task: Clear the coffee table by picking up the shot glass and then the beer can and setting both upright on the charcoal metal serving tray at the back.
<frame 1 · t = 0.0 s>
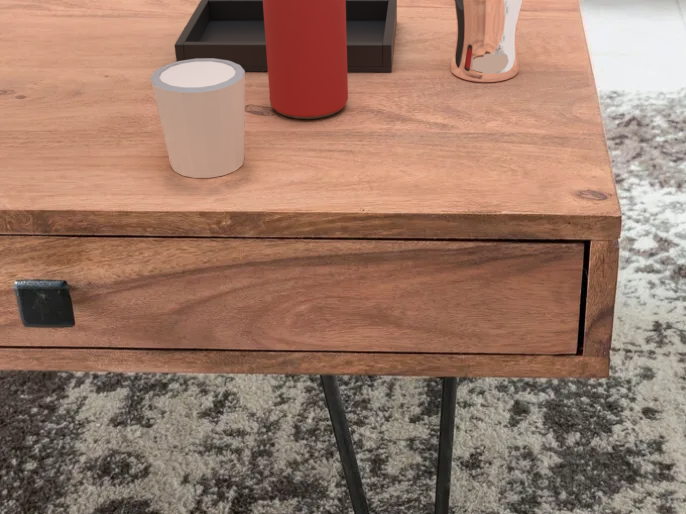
beer can: (309, 108, 89), on the table
tray: (292, 46, 101), on the table
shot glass: (207, 164, 81), on the table
beer glass: (484, 72, 95), on the table
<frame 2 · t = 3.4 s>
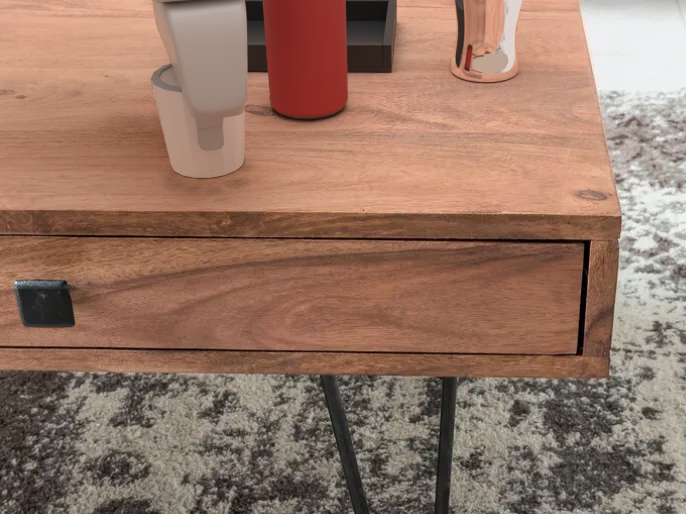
hand: (204, 129, 79), 3 cm above the table, tool pointing down, fingers closed on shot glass, 5 cm apart
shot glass: (208, 164, 81), on the table, touching gripper
everything else where it was.
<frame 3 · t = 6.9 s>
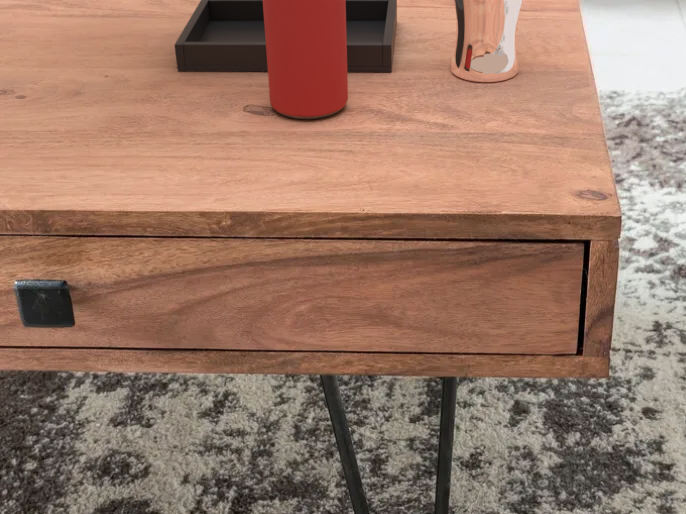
when the fingers open (3 cm above the table, at t = 10.6 s): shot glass stays where it is, resting on tray.
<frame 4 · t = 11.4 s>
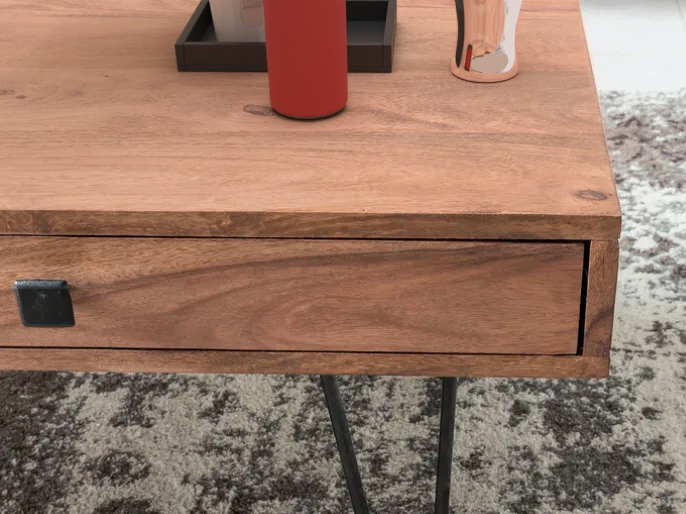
hand: (242, 9, 99), 4 cm above the table, tool pointing down, fingers open, 8 cm apart
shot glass: (246, 42, 101), resting on tray
everything else where it was.
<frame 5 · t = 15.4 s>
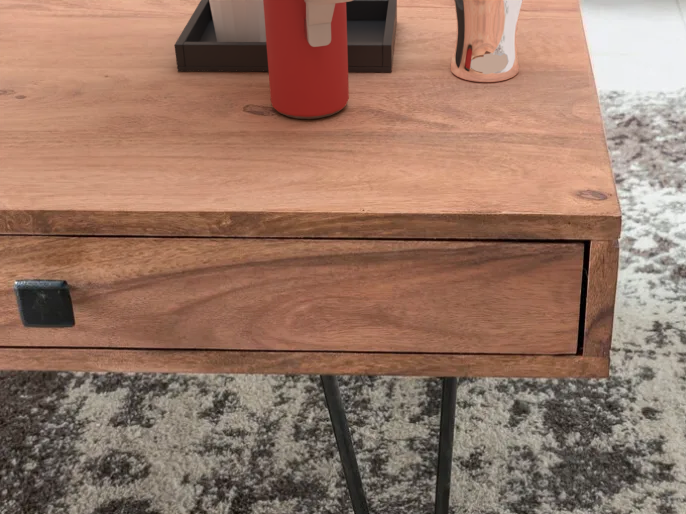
hand: (306, 27, 85), 7 cm above the table, tool pointing down, fingers closed on beer can, 6 cm apart
beer can: (310, 108, 89), on the table, touching gripper
everything else where it was.
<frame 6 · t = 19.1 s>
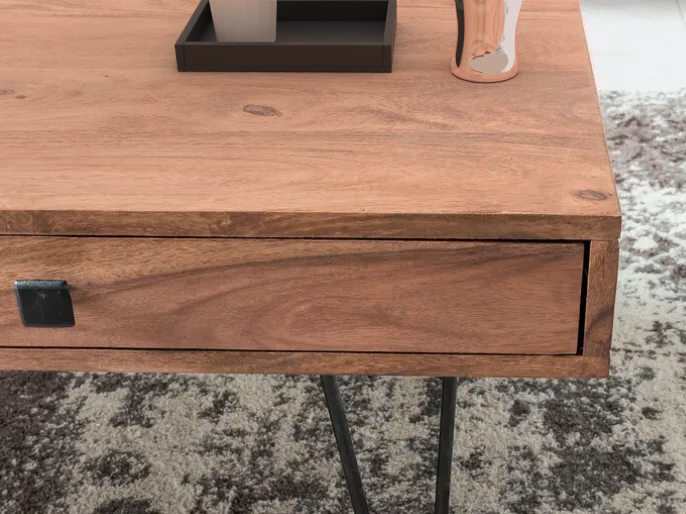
when the fingers open (7 cm above the table, at t = 22.8 s): beer can stays where it is, resting on tray.
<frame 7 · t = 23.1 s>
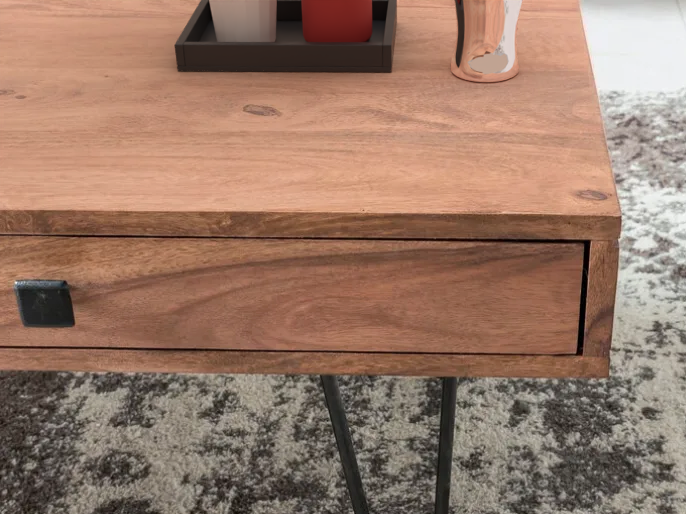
beer can: (337, 42, 100), resting on tray
everything else where it was.
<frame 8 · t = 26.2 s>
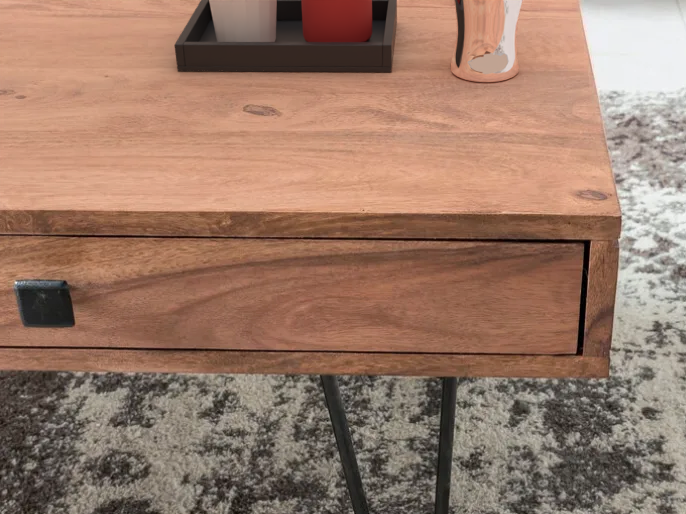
nothing on the table moved.
at the end: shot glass inside the target area in the tray (4.4 cm from its centre), point 0.3 cm above the tray's base; beer can inside the target area in the tray (4.4 cm from its centre), point 0.3 cm above the tray's base; beer can tilted 0° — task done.
